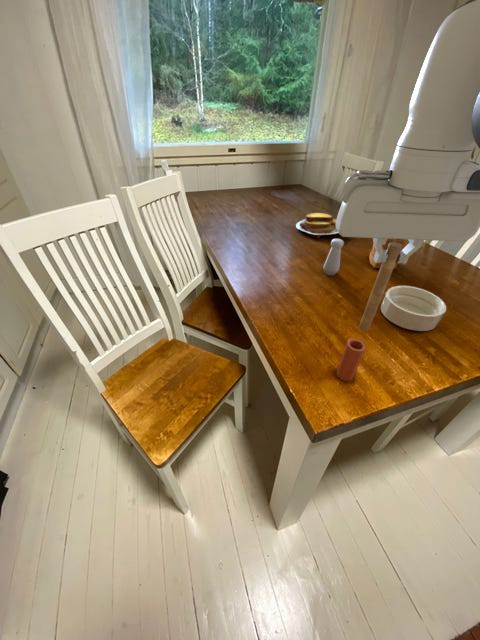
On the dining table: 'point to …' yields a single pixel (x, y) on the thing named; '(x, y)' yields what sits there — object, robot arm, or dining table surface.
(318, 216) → the food on plate
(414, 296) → the bowl
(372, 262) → the coffee package
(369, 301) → the stirring stick
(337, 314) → the dining table surface
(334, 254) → the salt shaker
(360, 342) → the utensil holder
